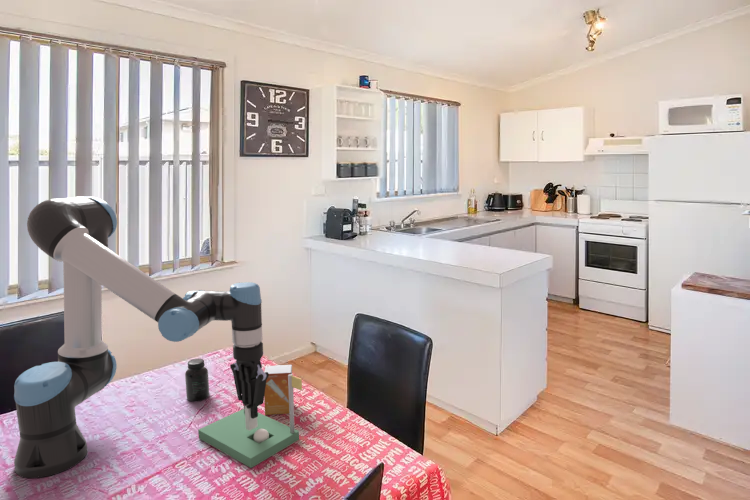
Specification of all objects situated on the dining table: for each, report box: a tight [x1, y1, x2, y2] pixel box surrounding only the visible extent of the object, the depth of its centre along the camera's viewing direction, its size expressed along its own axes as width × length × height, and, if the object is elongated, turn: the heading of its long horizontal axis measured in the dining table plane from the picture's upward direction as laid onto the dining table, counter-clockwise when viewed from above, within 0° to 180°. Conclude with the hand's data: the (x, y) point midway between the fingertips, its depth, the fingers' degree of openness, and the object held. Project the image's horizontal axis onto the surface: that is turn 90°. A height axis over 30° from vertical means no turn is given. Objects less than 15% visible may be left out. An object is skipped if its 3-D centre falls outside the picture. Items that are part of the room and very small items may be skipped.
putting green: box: [197, 373, 303, 469], centre depth 130 cm, size 25×16×18 cm, turn 53°
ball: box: [253, 429, 269, 444], centre depth 129 cm, size 4×4×4 cm
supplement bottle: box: [184, 358, 210, 402], centre depth 156 cm, size 7×7×12 cm
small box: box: [263, 364, 293, 416], centre depth 147 cm, size 8×6×13 cm
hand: (251, 427), depth 131 cm, fingers closed
